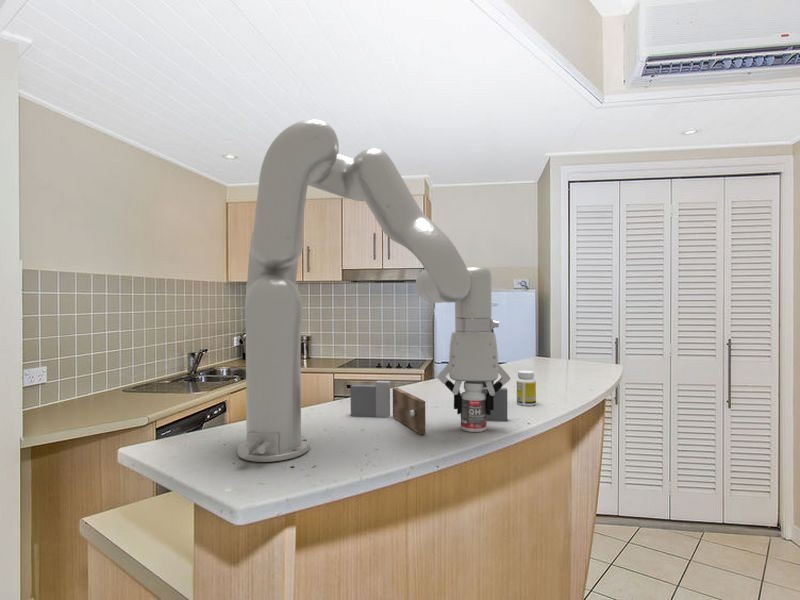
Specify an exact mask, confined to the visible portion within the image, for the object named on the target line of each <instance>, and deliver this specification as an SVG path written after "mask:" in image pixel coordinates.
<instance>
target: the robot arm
mask: <svg viewBox="0 0 800 600" xmlns="http://www.w3.org/2000/svg"><path fill="white" fill-rule="evenodd" d="M338 139H339V138H338V135H337V134H336V131H335V130H334V128H333V127H332V126H331V125H330V124H329V123H328V122H326V121H324V120H321V119H312V118H310V119H304V120H301V121H298V122H296V123H293V124H291V125H289V126H288V127H286V128H285V129H283V130H282V131H281V132H280V133H279V134H278V135H277V136H276V137H275V138H274V139H273V141H272V142H271V144H270V145H269V147H268V149H267V150H266V153H265V155H264V157H263V161H262V164H261V168H260V172H259V173H260V174H259V179H258V188H257V196H256V203H255V204H256V205H255V216H254V224H253V229H252V233H251V235H250V240H249V241H250V243H249V254H248V266H247V279H246V294H245V301H244V315H245V316H244V318H245V388H246V389H245V391H246V392H245V393H246V394H245V395H246V396H245V397H246V399H245V409H246V411H245V413H246V418H245V420H246V425H245V426H246V429H245V430H246V433H245V434H246V439H245V440H244V441H243V442H241V443H240V444H239V445H238V446H237V448H236V450H237V451H236V452H237V456H238V457H239V458H241V459H242V460H245V461H249V462H255V463H270V462H271V463H273V462H280V461H287V460H291V459H294V458H297V457H299V456H302V455H304V454H306V453H307V452H308V451H309V450H310V448H311V441H310V439H309V438H307V437H305V436H303V435H302V376H301V375H302V363H301V361H302V360H301V357H302V356H301V355H302V354H301V352H302V351H301V348H302V347H301V346H302V345H301V342H302V340H301V339H302V337H301V334H302V323H303V322H302V320H303V300H302V296H301V293H300V291H299V289H298V287H297V275H298V263H299V262H298V261H299V258H300V257H301V255H302V252H303V250H304V223H305V222H304V221H305V211H306V210H305V208H306V202H307V201H306V200H307V192H308V186H309V187H312V188H315V189H318V190H321V191H324V192H328V193H329V194H333V195H335V196H338V197H342V198H345V199H349V200H353V201H357V202H364V203H366V205H367V207H368V208H369V210H370V212H371V213H372V214H373V216H374V218H375V220H376V221H377V223H378V225H379V226H380V228H381V229H382V231H383V233H384V235H385V236H386V237H387V238H389V239H390V240H392V241H393V242H395V243H396V244H399V245H401V246H403V247H404V248H405V249H407V250H408V251H410V252H411V253H412V255H414V256H415V258H416V259H417V260H418V261H419V262H420V264H421V265H422V267H423V268H424V269H423V270H422V271H421V272H420V273H419V274H418V276H417V277H416V279H415V290H416V292H417V294H418V295H419V296H420V297H421V299H423V300H425V301H427V302H430V303H438V304H439V303H449V304H451V303H454V313H455V314H454V326H455V327H454V332H451V335H450V341H449V343H450V344H449V352H448V353H449V355H448V363H447V365H446V366H445V367H444V368H443V369H442V370H441V371H440V372H439V373H438V374H437V379H438V381H440V382H441V383H442V384H443V385H444V386H445V387H446V388H447V389H448V390H449V391H450V392H451V393H452V395H453V409H454V410H457V412H456V414H457V415H461V394H462V392H461V390H460V388H461V386H462V383H463V382H465V381H476V382H486V385H487V388H488V391H487V394H486V398H487V405H486V406H487V414H488V415H490V410H494V395H495V393H496V392H497V391H498V390H499V389H500V388H503V387H504V385H506V384H508V382H510V381H511V377H510V375H509V374H508V373H507V372H506V371H505V370H504V368H503V367H502V366H501V365H500V364H499V353H498V347H497V338H496V333H495V332H494V333H492V329H493V330H494V329H495V328H499V325H500V324H499V323H500V322H499V320H494V319H492V271H490V269H489V268H487V267H485V266H484V267H483V266H482V267H481V266H467V264H466V263H465V261H464V260H463V258H462V256H461V254H460V253H459V251H458V249H457V248H456V246H455V245H454V243H453V242H452V240H451V239H450V238H449V236H447V235H446V233H445V232H444V231H443V230H441V229H440V227H438V226H437V225H436V223H434V221H432V220H431V219H430V217H428V216H427V215H426V214H425V213H424V212H423V211H422V210H421V208H420V205H418V203H417V201H416V199H415V198H414V196H413V195H412V192H411V191H410V189H409V187H408V186H407V184H406V182H405V180H404V178H403V177H402V175H401V173H400V172H399V170H398V168H397V167H396V165H395V163H394V162H393V160H392V159H391V157H390V156H389V154H387V153H386V151H384V150H382V149H380V148H376V147H373V148H366V149H364V150H362V151H360V152H359V153H357V155H355V157H354V158H352V157H349V156H345V155H343V154H340V153H339V152H340V150H339V149H340V145H339V144H340V143H339V140H338ZM448 374H449V378H450V379H451V380H452V381H454V383H453V382H452V381H451V380H450V379H448V377H447V375H448ZM499 376H501V377H500V378H499ZM498 378H499V379H498ZM496 380H497V381H496ZM491 381H496V382H494V385H492V382H491Z"/></svg>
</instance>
